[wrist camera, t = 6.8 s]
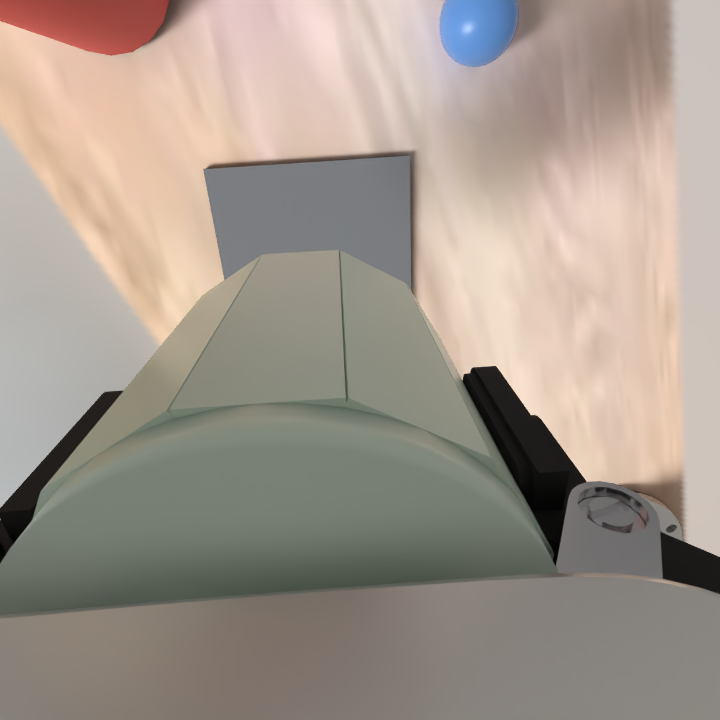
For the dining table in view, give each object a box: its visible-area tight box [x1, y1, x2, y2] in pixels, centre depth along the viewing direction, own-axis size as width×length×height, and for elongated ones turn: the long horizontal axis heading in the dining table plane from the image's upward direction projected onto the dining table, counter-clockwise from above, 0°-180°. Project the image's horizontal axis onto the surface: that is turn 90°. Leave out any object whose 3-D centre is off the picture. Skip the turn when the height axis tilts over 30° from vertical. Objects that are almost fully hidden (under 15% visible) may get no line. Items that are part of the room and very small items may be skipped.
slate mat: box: [203, 155, 411, 290], centre depth 27 cm, size 11×11×1 cm
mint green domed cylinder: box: [0, 250, 559, 615], centre depth 10 cm, size 8×8×8 cm
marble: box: [440, 0, 519, 67], centre depth 21 cm, size 4×4×4 cm
